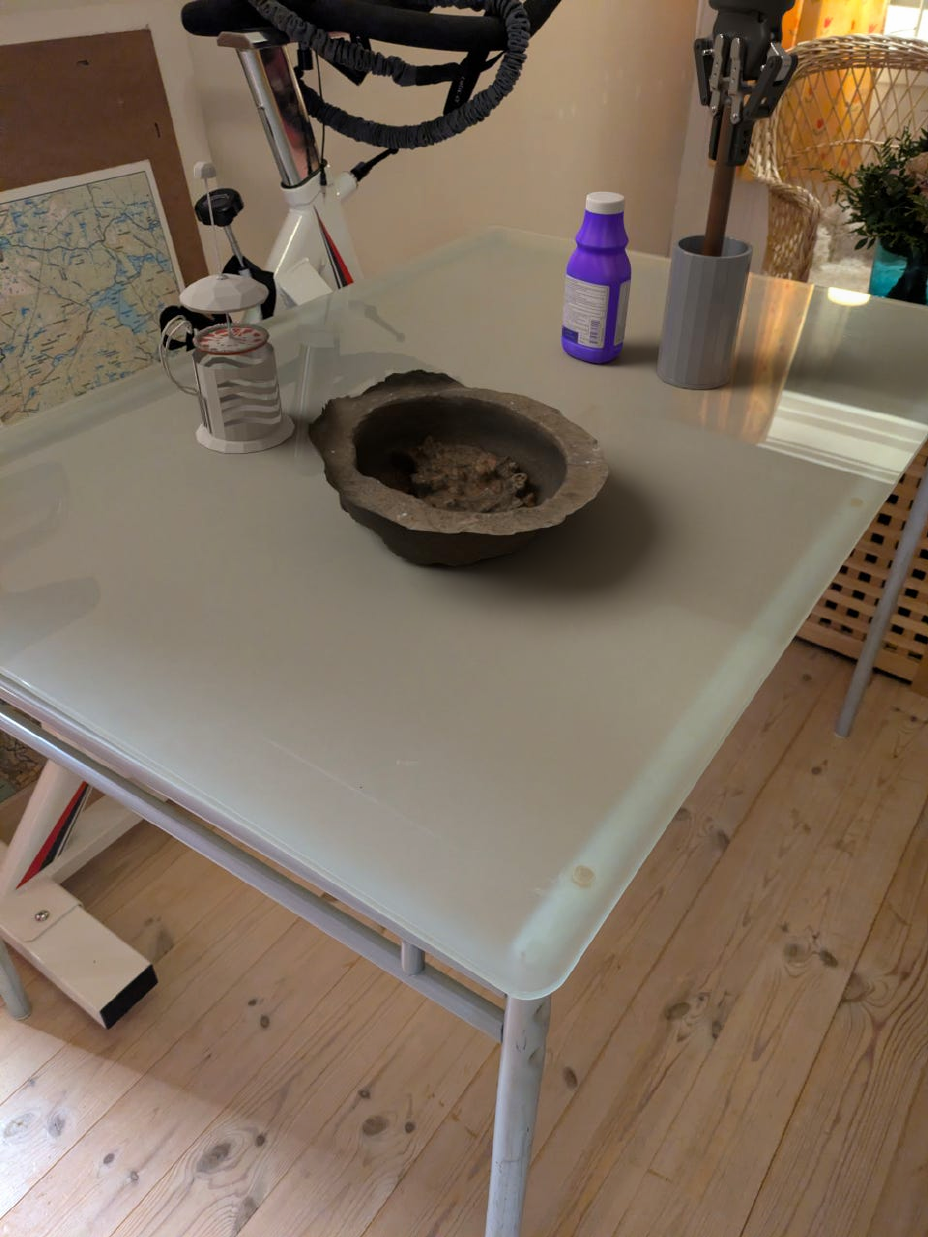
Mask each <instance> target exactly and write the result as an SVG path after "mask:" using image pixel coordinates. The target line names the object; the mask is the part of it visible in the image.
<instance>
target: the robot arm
mask: <svg viewBox="0 0 928 1237" xmlns="http://www.w3.org/2000/svg"><path fill="white" fill-rule="evenodd" d="M796 1H797V0H708V6H709V8H710V9H712V10H714V11H717V15H716V19H715V21H714V23H713V25H712V31H711V33H710V34H709V35H707V36H706V37H700V38H698V37H697V38H696V39H695V40H694V43H693V52H694V54H693V55H694V61H695V71H696V77H697V86H698V94H699V102H700V105H701V106H702V107H707V108H708V109H709V110H708V111H709V116H710V117H712V122H711V128H710V136H709V141H708V142H709V143H708V153H707V155H708V159H709V160H711V161H713V162H716V157H717V150H718V143H719V137H720V130H721V123H722V117H723V110H724V105H725V104H728V103H732V107H731V116H730V119H731V122H732V123H729V127H728V134H727V140H726V147H725V153H724V160H723V163H724V165H726V166H729V167H736V168H737V167H743V166H744V165H746V163H747V161H748V158H749V156H750V152H751V151H750V150H751V149H750V148H751V145H752V137H753V132H754V127H755V125H756V123H757V122H758V121H760V120H763V119H770V118H771V117H773V116H772V115H773V113H774V112H775V110H776V108H777V106H778V104H779V102H780V101H781V98H782V96H783V95H784V92H785V91H786V89H787V87H788V85H789V83H790V81H792V78H793V76H794V74H795V72H796V70H797V68H798V66H799V64H800V60H799V56H798V55H797V54H796V53H792V54H788V53H787V52H786V50H785V49H784V47H783V45H782V43H783V39H784V32H783V17H784V15H785V14H786V13H787V12H790V11H791V10H792V9H793V8H794V7H795V5H796ZM751 81H753V83H749V82H751ZM711 89H712V90H711ZM747 95H749V97H748V98H747V101H746V103H745V98H746V96H747ZM764 99H765V100H764ZM763 100H764V102H763ZM762 102H763V103H762ZM744 103H745V104H744ZM744 105H745V107H743V106H744Z"/></svg>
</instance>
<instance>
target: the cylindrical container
mask: <svg viewBox="0 0 928 1237" xmlns="http://www.w3.org/2000/svg"><path fill="white" fill-rule="evenodd" d="M704 237H705V233H695V234H686V235H683V236H680V237H678V238H677V239H675V240H674V241H673V244H672V250H671V259H670V265H669V273H668V282H667V289H666V296H665V303H664V311H663V317H662V319H663V320H662V326H661V334H660V341H659V348H658V356H657V362H656V363H657V364H656V374H657V376H658V378H659V379H660V380H662V381H663V382H665V383H667V384H669V385H671V386H674V387H678V388H680V389H681V388H682V389H687V390H712V389H716V388H719V387H722V386H724V385H726V384H727V383H728V382H729V381H730V377H731V373H732V368H733V363H734V361H733V360H734V358H735V357H734V356H735V350H736V346H737V340H738V335H739V330H740V326H741V325H740V324H741V318H742V314H743V307H744V302H745V298H746V297H745V296H746V292H747V287H748V280H749V277H750V276H749V275H750V272H751V271H750V269H751V264H752V259H753V255H754V254H753V253H754V245H752V243H750V242H749V241H747V240H744V239H743V238H739V237H736V236H733V235H726V234H725V238H724V244H723V250H722V256H721V257H713V256H703V255H702V250H703V243H704Z"/></svg>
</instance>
